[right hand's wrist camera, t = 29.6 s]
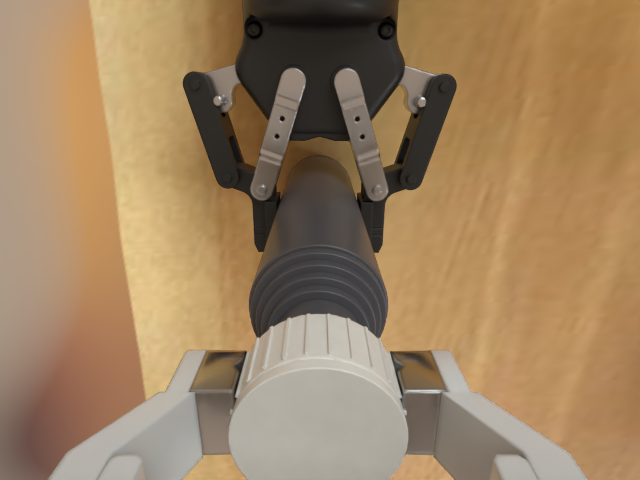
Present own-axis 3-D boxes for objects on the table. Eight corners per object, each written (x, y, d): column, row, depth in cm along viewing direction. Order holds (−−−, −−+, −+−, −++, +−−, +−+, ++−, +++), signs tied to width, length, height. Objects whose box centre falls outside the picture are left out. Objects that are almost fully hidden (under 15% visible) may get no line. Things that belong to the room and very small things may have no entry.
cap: (330, 280, 10) (333, 330, 8) (424, 385, 11) (447, 452, 9) (210, 367, 10) (186, 432, 9) (308, 457, 12) (307, 532, 10)
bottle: (336, 145, 29) (379, 294, 8) (360, 204, 30) (446, 454, 10) (275, 171, 29) (177, 369, 9) (302, 228, 31) (269, 508, 10)
